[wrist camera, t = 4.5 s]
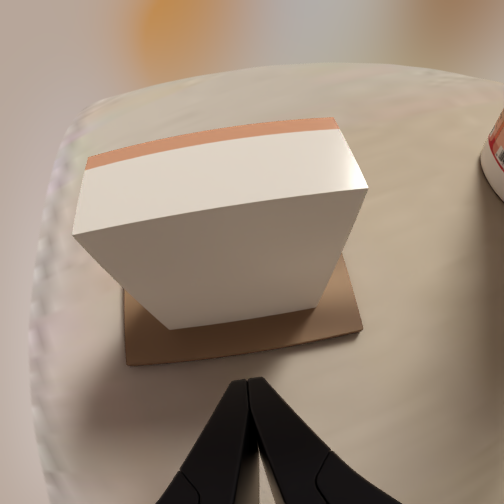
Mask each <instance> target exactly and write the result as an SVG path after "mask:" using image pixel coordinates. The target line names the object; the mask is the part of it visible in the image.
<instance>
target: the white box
mask: <svg viewBox="0 0 504 504" xmlns="http://www.w3.org/2000/svg"><path fill="white" fill-rule="evenodd" d="M367 190H368V186H367V184H366V181H365V179H364V177H363V175H362V173H361V171H360V168H359V166H358V164H357V162H356V160H355V158H354V156H353V154H352V152H351V150H350V148H349V146H348V144H347V142H346V140H345V138H344V136H343V134H342V132H341V131H340V129H339V127H338V125H337V123H336V121H335V119H334V117H329V118H311V119H298V120H286V121H276V122H266V123H257V124H249V125H241V126H234V127H227V128H220V129H214V130H208V131H202V132H196V133H190V134H185V135H180V136H175V137H170V138H165V139H160V140H155V141H151V142H146V143H142V144H137V145H133V146H129V147H125V148H121V149H117V150H113V151H109V152H106V153H102V154H98V155H95V156H91V157H88V160H87V164H86V168H85V172H84V176H83V181H82V185H81V190H80V194H79V199H78V204H77V209H76V214H75V220H74V226H73V232H72V236H73V237H74V238H75V239H76V240H77V241H78V242H79V243H80V244H81V246H82V247H83V248H84V249H85V250H86V251H87V252H88V253H89V254H90V255H91V256H92V257H93V258H94V259H95V260H96V261H97V262H98V263H99V264H100V265H101V266H102V267H103V268H104V269H105V270H106V271H107V272H108V273H109V274H110V275H111V276H112V277H113V278H114V279H115V280H116V281H117V282H118V283H119V284H120V285H121V286H122V287H123V288H124V289H125V290H126V291H127V292H128V293H129V294H130V295H131V296H132V297H133V298H135V299H136V300H137V301H138V302H139V303H140V304H141V305H142V306H143V307H144V308H145V309H146V310H148V311H149V312H150V313H151V314H152V315H153V316H154V317H155V318H156V319H158V320H159V321H160V322H161V323H162V324H163V325H164V326H166V327H167V328H168V329H169V330H173V329H181V328H189V327H197V326H205V325H212V324H219V323H226V322H233V321H240V320H246V319H253V318H259V317H265V316H271V315H277V314H283V313H288V312H294V311H300V310H305V309H310V308H316V307H317V304H318V302H319V300H320V298H321V296H322V294H323V292H324V290H325V288H326V286H327V283H328V281H329V279H330V277H331V275H332V273H333V270H334V268H335V266H336V264H337V262H338V259H339V257H340V255H341V253H342V250H343V248H344V246H345V244H346V241H347V239H348V237H349V234H350V232H351V230H352V227H353V225H354V222H355V220H356V218H357V215H358V213H359V210H360V208H361V205H362V203H363V200H364V198H365V195H366V193H367Z"/></svg>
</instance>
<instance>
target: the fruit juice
mask: <svg viewBox="0 0 504 504" xmlns="http://www.w3.org/2000/svg"><path fill="white" fill-rule="evenodd" d="M480 159H481V166H482V169H483V172H484V174H485V176H486V178H487V180H488V182H489V183H490V185H491V187H492V188H493V189H494V191H495V192H496V193H497V195H498V196H499V197H500V198H501V199H502V200H503V202H504V109H503V111H502V113H501V114H500V116H499V118H498V120H497V122H496V124H495V125H494V127H493V129H492V131H491V133H490V134H489V136H488V138H487V140H486V141H485V143H484V145H483V148H482V151H481V158H480Z"/></svg>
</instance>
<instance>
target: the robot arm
mask: <svg viewBox="0 0 504 504" xmlns="http://www.w3.org/2000/svg"><path fill="white" fill-rule="evenodd" d="M258 448H259V449H258ZM259 452H260V456H261V460H262V463H263V466H264V469H265V472H266V476H267V479H268V482H269V485H270V488H271V491H272V494H273V497H274V500H275V503H276V504H402V503H400V502H399V501H397V500H396V499H394V498H392V497H391V496H389V495H388V494H386V493H385V492H383V491H382V490H380V489H379V488H377V487H376V486H374V485H373V484H371V483H370V482H368V481H367V480H366V479H364V478H363V477H362V476H360V475H359V474H358V473H356V472H355V471H354V470H353V469H352V468H351V467H349V466H348V465H347V464H346V463H345V462H344V461H343V460H342V459H341V458H340V457H339V456H338V455H337V454H336V453H335V452H333V451H331V449H330V448H329V447H328V446H327V445H326V444H325V443H324V442H323V441H322V440H321V439H320V438H319V437H318V436H317V435H316V434H315V433H314V431H313V430H312V429H311V428H310V427H309V426H308V425H307V424H306V423H305V422H304V421H303V420H302V419H301V418H300V417H299V416H298V415H297V414H296V413H295V412H294V410H293V409H292V408H291V407H290V406H289V405H288V404H287V403H286V402H285V401H284V400H283V399H282V398H281V396H280V395H279V394H278V393H277V392H276V391H275V390H274V389H273V388H272V387H271V385H270V384H269V383H268V382H267V381H266V380H265V379H264V378H263V377H256V378H250V379H248V381H247V380H245V379H242V380H235V381H232V382H231V383H230V384H229V386H228V388H227V390H226V392H225V393H224V395H223V397H222V399H221V400H220V402H219V404H218V405H217V407H216V409H215V411H214V412H213V414H212V416H211V417H210V419H209V421H208V423H207V424H206V426H205V428H204V429H203V431H202V433H201V434H200V436H199V438H198V439H197V441H196V443H195V444H194V446H193V448H192V449H191V451H190V453H189V454H188V456H187V458H186V459H185V461H184V463H183V464H182V466H181V467H180V471H178V472H177V474H176V475H175V477H174V478H173V480H172V482H171V483H170V485H169V486H168V488H167V489H166V490H165V492H164V493H163V495H162V496H161V498H160V499H159V500H158V501H157V502H156V504H259Z"/></svg>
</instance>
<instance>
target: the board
mask: <svg viewBox="0 0 504 504" xmlns="http://www.w3.org/2000/svg"><path fill="white" fill-rule="evenodd" d="M124 321H125V351H126V365H129V366H140V365H154V364H165V363H176V362H186V361H195V360H204V359H212V358H220V357H227V356H234V355H241V354H248V353H254V352H261V351H267V350H273V349H278V348H284V347H290V346H295V345H300V344H305V343H310V342H315V341H320V340H325V339H330V338H334V337H339V336H343V335H348V334H352V333H356V332H360V331H362V330H363V325H362V321H361V318H360V314H359V310H358V307H357V303H356V299H355V296H354V292H353V289H352V285H351V282H350V278H349V275H348V271H347V268H346V265H345V261H344V258H343V255H342V253H341V255H340V257H339V259H338V262H337V264H336V266H335V268H334V270H333V273H332V275H331V277H330V279H329V281H328V283H327V286H326V288H325V290H324V292H323V294H322V296H321V298H320V300H319V302H318V304H317V307H316V308H310V309H305V310H300V311H294V312H288V313H283V314H277V315H271V316H265V317H259V318H253V319H246V320H240V321H233V322H226V323H219V324H212V325H205V326H197V327H189V328H181V329H173V330H169V329H168V328H167V327H166V326H164V325H163V324H162V323H161V322H160V321H159V320H158V319H156V318H155V317H154V316H153V315H152V314H151V313H150V312H149V311H148V310H146V309H145V308H144V307H143V306H142V305H141V304H140V303H139V302H138V301H137V300H136V299H135V298H133V297H132V296H131V295H130V294H129V293H128V292H127V291H126V290H125V289H124Z"/></svg>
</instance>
